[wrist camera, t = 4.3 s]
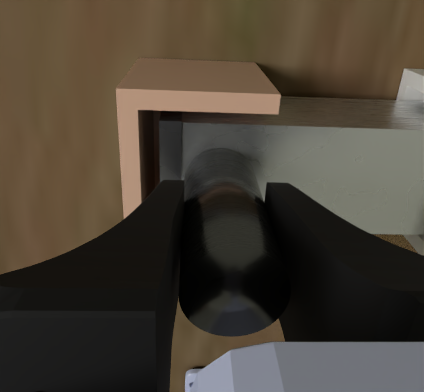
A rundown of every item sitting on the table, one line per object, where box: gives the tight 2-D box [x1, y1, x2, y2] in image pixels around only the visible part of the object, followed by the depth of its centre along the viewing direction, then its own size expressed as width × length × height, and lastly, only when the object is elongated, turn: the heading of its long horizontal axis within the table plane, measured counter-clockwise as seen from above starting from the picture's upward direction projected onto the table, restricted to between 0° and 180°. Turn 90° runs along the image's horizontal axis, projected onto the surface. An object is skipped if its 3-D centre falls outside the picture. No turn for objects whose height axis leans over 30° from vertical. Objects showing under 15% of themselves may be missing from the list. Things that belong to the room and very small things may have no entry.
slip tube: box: [159, 96, 424, 336], centre depth 13 cm, size 4×12×10 cm, turn 87°
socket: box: [116, 58, 281, 219], centre depth 16 cm, size 6×5×6 cm
